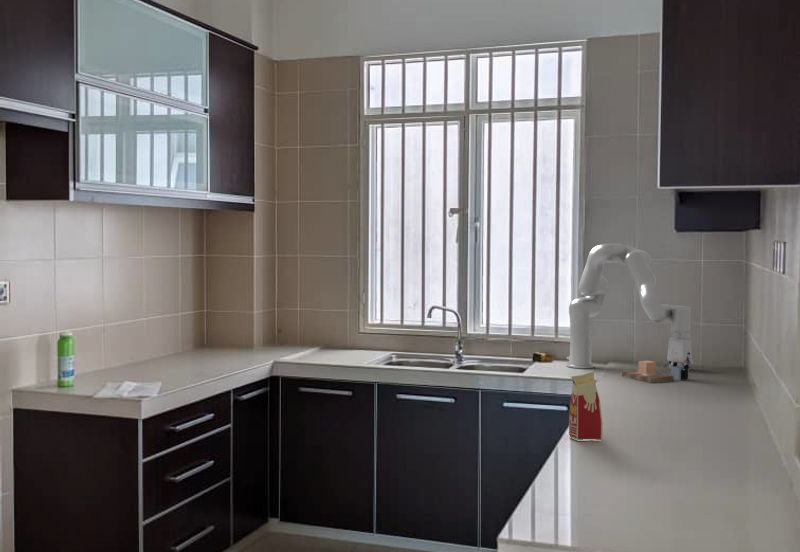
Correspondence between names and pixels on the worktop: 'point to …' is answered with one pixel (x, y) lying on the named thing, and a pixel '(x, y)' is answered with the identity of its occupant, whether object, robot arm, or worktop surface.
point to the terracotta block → (647, 367)
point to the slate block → (677, 372)
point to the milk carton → (585, 409)
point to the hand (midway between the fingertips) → (679, 377)
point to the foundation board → (647, 376)
